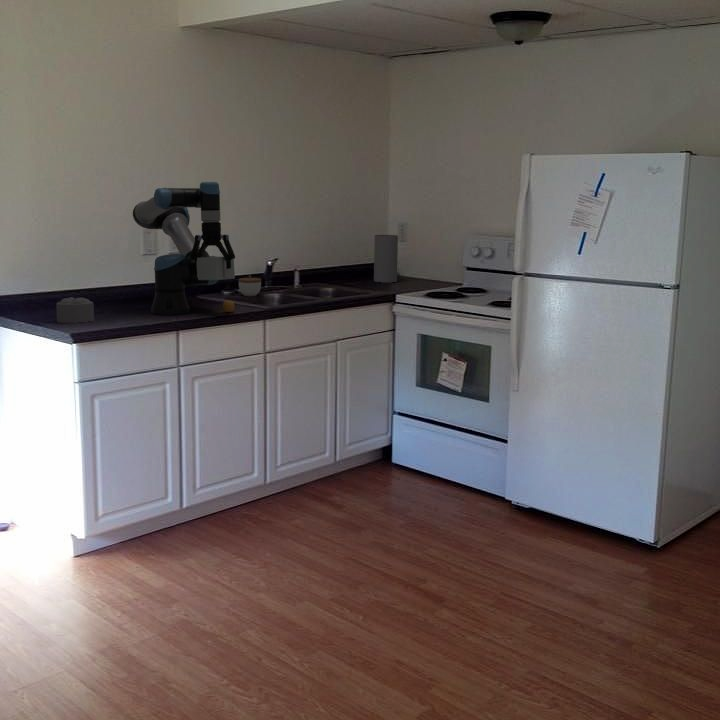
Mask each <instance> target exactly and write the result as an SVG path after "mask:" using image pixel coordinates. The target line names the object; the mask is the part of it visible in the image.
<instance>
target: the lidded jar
mask: <svg viewBox="0 0 720 720" xmlns="http://www.w3.org/2000/svg"><path fill="white" fill-rule="evenodd" d="M237 279H238V289H239V291H240V293H241V294H242V295H243V296H245V297H256V296H257V295H259V293H260V291H261V287H262V278H259V277H252V275H251V274H250V275H248V277H241V278H237Z"/></svg>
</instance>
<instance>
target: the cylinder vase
mask: <svg viewBox="0 0 720 720" xmlns="http://www.w3.org/2000/svg"><path fill="white" fill-rule="evenodd" d="M398 243H399V235H397V234H375V235H374V252H373V253H374V254H373V255H374V257H373V259H374V260H373V261H374V262H373V281H374V282H375V283H378V282H381V283H382V284H393V283H392V282H395V283H396V282H397V281H398V252H399V251H398V249H399V244H398ZM381 283H380V284H381Z"/></svg>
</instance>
